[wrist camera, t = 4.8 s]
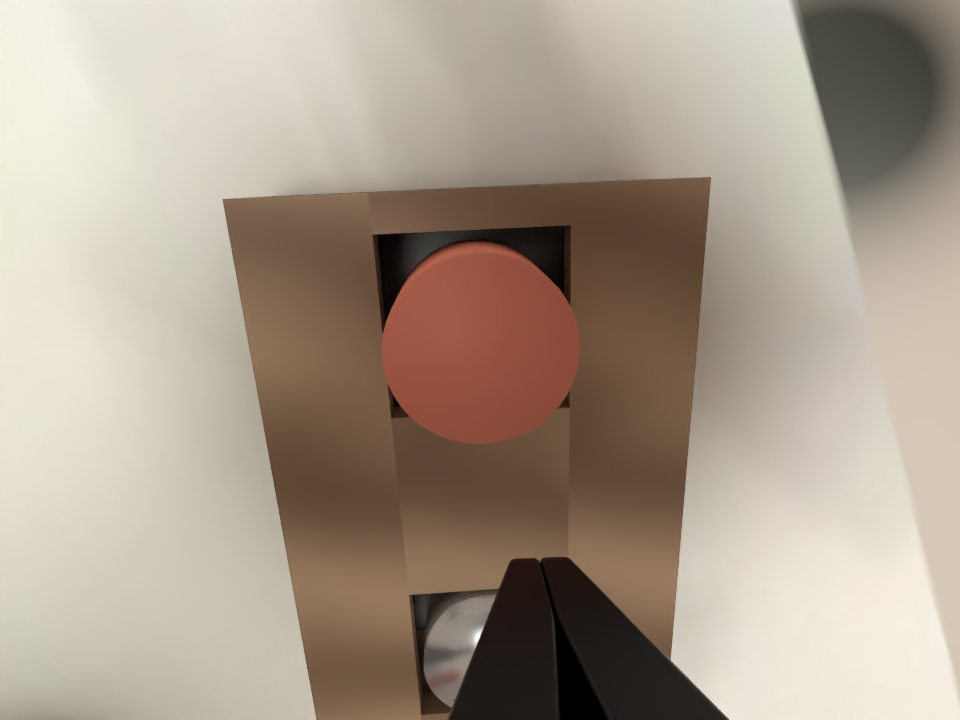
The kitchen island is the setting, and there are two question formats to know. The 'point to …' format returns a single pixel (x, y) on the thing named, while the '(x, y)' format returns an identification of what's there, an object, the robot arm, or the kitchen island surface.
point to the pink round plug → (480, 343)
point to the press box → (463, 466)
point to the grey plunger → (453, 637)
